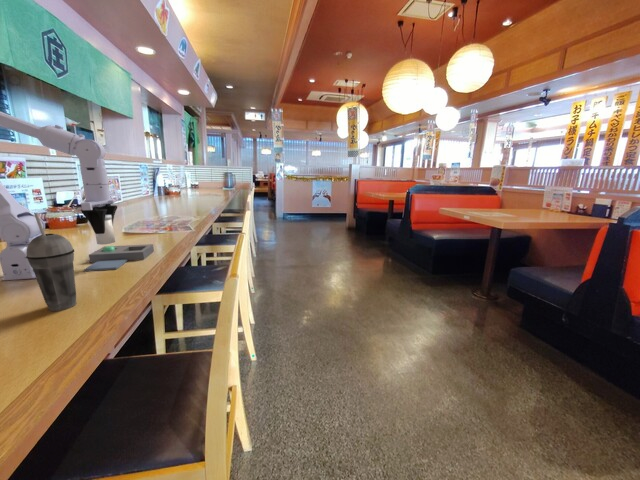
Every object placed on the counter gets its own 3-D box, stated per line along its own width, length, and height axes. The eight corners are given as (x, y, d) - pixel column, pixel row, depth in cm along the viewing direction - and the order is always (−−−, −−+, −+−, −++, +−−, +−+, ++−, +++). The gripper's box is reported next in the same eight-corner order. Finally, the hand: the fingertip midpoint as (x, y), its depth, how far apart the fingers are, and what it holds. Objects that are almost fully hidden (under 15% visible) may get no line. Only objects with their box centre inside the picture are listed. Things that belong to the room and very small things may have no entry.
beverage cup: (93, 299, 65) (75, 209, 60) (62, 315, 58) (39, 215, 53) (63, 298, 66) (43, 208, 61) (29, 313, 59) (3, 214, 54)
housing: (144, 259, 93) (143, 252, 93) (90, 262, 90) (88, 254, 90) (154, 251, 103) (153, 244, 102) (105, 253, 100) (104, 246, 99)
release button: (113, 257, 94) (111, 248, 94) (102, 257, 94) (101, 248, 93) (117, 254, 97) (115, 245, 97) (107, 255, 97) (105, 246, 96)
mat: (116, 269, 84) (116, 267, 84) (84, 271, 83) (84, 269, 83) (127, 260, 92) (127, 259, 92) (98, 262, 90) (98, 260, 90)
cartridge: (111, 244, 85) (107, 216, 83) (93, 244, 84) (88, 217, 82) (118, 240, 89) (114, 214, 87) (100, 241, 88) (96, 214, 86)
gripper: (99, 185, 77) (108, 236, 80) (122, 183, 90) (129, 226, 94) (68, 185, 75) (78, 237, 78) (96, 183, 89) (103, 227, 92)
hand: (104, 231), depth 86 cm, fingers closed on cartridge, 4 cm apart
